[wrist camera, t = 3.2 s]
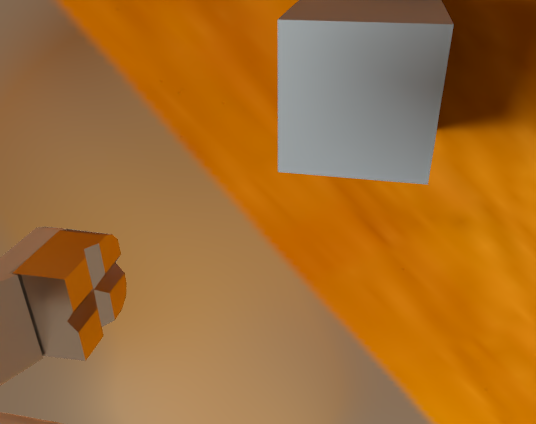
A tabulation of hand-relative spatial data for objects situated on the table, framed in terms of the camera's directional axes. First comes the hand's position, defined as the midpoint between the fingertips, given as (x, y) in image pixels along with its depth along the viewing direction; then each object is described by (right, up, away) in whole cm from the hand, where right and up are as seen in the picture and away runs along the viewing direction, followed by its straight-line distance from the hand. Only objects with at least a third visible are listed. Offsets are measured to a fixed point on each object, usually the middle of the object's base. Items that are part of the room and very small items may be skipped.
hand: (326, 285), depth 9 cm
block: (+3, +7, +11) cm, 13 cm away
